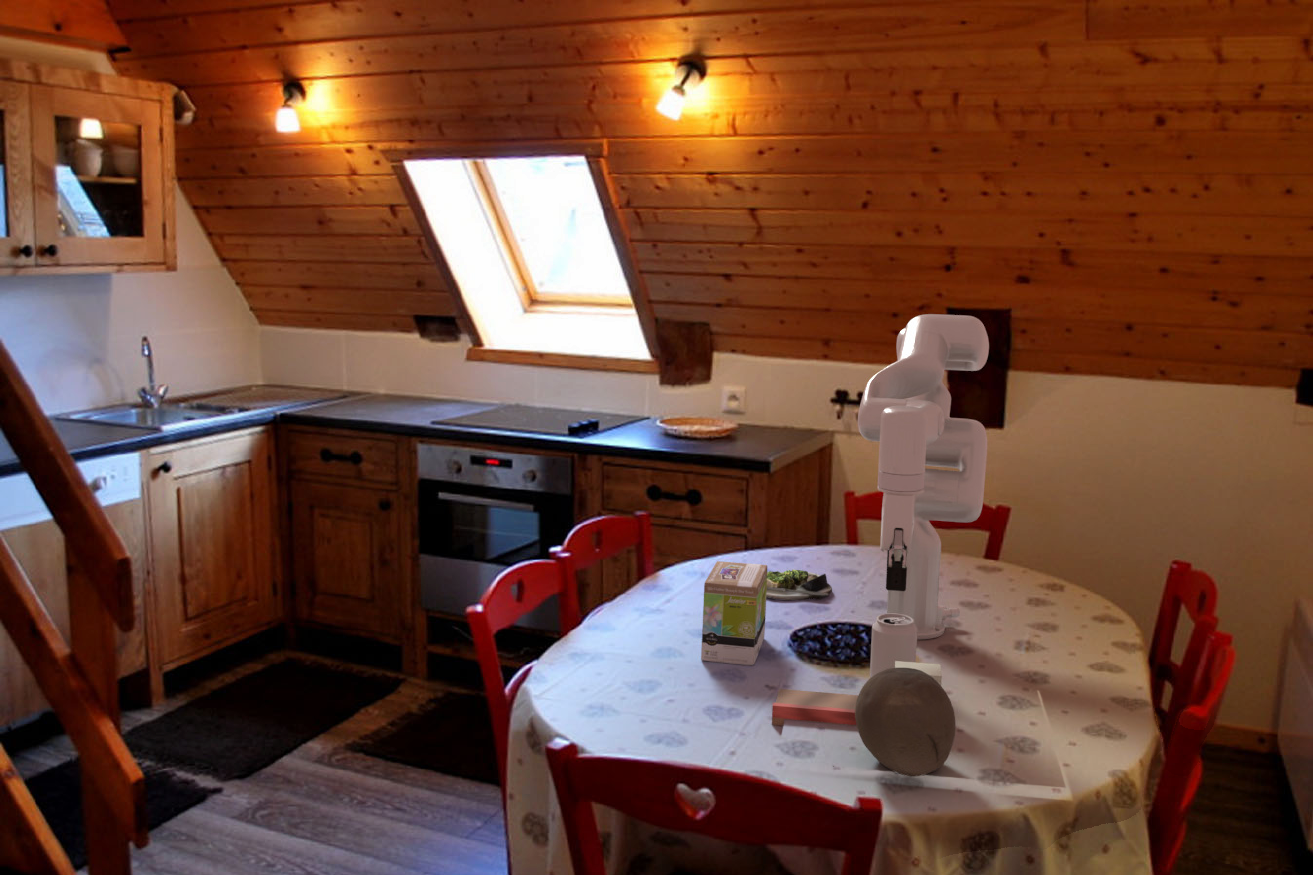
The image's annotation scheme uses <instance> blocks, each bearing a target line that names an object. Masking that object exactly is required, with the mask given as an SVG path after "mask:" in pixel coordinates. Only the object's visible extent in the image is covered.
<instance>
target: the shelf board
mask: <svg viewBox="0 0 1313 875" xmlns="http://www.w3.org/2000/svg"><path fill="white" fill-rule="evenodd" d="M858 695H859V694H858ZM858 695H857V694H846V693H845V694H844V693H835V692H824V691H822V692H821V691H810V690H799V689H788V688H787V689H786V688H779V689H778V692H777V697H776V700H775V702H772V707H771V708H772V709H771V710H772V711H771V712H772V713H771V725H772V726H780V727H781V726H782V727H784V726H785V720H794V721H804V722H814V723H815V722H816V723H826V724H837V725H849V726H857V724H856V719H855V708H856V701H857V698H858Z"/></svg>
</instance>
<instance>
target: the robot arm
mask: <svg viewBox="0 0 1313 875" xmlns="http://www.w3.org/2000/svg"><path fill="white" fill-rule="evenodd" d="M984 325H985V324H983V322H982V321H981V320H980V319H979V318H977V317H975V316H972V315H963V314H962V315H961V314H959V315H958V314H956V315H955V314H939V313H938V314H936V313H935V314H934V313H928V314H921V315H920V314H919V315H917V316H915V317H913V318H911V319H910V320H909V321H908V323H907V324H906V326H905V327H904V328H903V329H901V330H900V332H899V333H898V334H897V337H896V356H897V357H896V359H897V360H896V361H895V362H893V363H891V364H888V365H887V366H886V367H884V368H883V369H881V370H880V371H878V372H877V373H876V374H874V375H873V376H872V377H871V378H870V379H869V381H868V382H867V383H866V385H865V388H864V389H863V393H862V396H861V400H860V404H859V408H858V414H857V428H858V432H859V433H860V435H861V437H863V439H865V440H867V441H871V442H877V443H878V442H879V444H878V445H879V447H878V449H879V450H878V465H877V466H878V467H877V468H878V471H877V487H876V488H877V490H878V492H882V493H883V496H882V503H881V505H882V507H881V522H880V547H879V549H880V551H881V552H882V553H885V551H887V554H886V555H887V556H886V558H887V559H886V574H885V575H886V578H885V579H886V580H885V590H887V602H886V603H887V605H886V614H887V613H896V614H903V615H907V616H909V617H911V618H912V619H913V620H914V623H913V624H914V625H915V626H916V627H917V640H931V639H935V638H939V637H940V636H943V634H944V633H945V629H946V628H945V627H946V626H945V624H944V623H943V621H945V620H946V619H955V618H960V615H961V614H960V610H959V608H958V607H949V608H947V607H946V605H939V591H940V590H939V589H940V572H941V555H942V554H941V553H942V542H941V538H940V535H939V534H938V532H937V531H936V529H935V527H934V526H933V525H932V524H931V522H930V521H941V522H952V523H953V522H954V523H972V522H974V521H977V520H978V518H979V517H980V516H981V514H982V510H983V505H984V504H983V503H984V496H985V495H984V494H985V493H984V492H985V482H986V481H985V480H986V471H987V458H988V436H987V431H986V428H985V426H984V425H983V424H982V422H980V421H978V420H976V419H970V418H960V417H959V418H958V417H950V413H951V406H952V396H951V393H950V391H949V390H948V387H946V385H945V384H944V382H943V379H944V374H945V370H946V371H966V372H968V371H971V372H974V371H975V372H976V371H980V370H981V369H982V368H983V367H984V366H985V365H986V363H987V360H988V357H989V350H990V342H989V336H988V332H987V330H986V327H985V326H984ZM926 466H927V467H937V469H936V468H926ZM938 467H939V468H950V469H958V470H948V469H945V470H944V469H938Z"/></svg>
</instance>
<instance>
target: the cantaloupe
mask: <svg viewBox="0 0 1313 875" xmlns="http://www.w3.org/2000/svg"><path fill="white" fill-rule="evenodd" d="M952 704H953V703H952V702H951V699H950V697H949V695H948V693H947V691H946V690H944V688H943V687H942V684H941V685H940V684H939V683H938V682H937V681H936V680H935V679H934V678H933V677H931V676H930V675H928V674H926V673H925V672H923V671H921V670H917V669H913V668H889V669H885V670H883V671H881V672H879V673H877V674H875V675H874V676H872V677H871V678H870V677H869V679H868V680H866V682H865V683H864V685H863V686H862V688H861V689H860V691H859V694H858V698H857V701H856V708H855V719H856V724H857V725H856V728H857V730H858V734H859V737H860V739H861V742H862V744H863V745H864V747H865V748H866V749H867V750H868V751H869V753H871V755H872V756H873V758H875V759H876V760H877V761H878V762H879V764H882V765H883V766H884V767H886V768H887V769H889V770H891V771H893V772H895V773H897V774H900V775H902V776H907V777H913V778H914V777H920V776H925V775H928V774H930V773H933V772H934V771H937V770H938V769H939V768H941V767H942V766H943V765H944V764H945V763H946V761H947V760H948V758H949V756H950V754H951V751H952V747H953V745H954V744H953V743H954V740H955V735H956V717H955V710H954V707H953V705H952Z"/></svg>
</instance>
